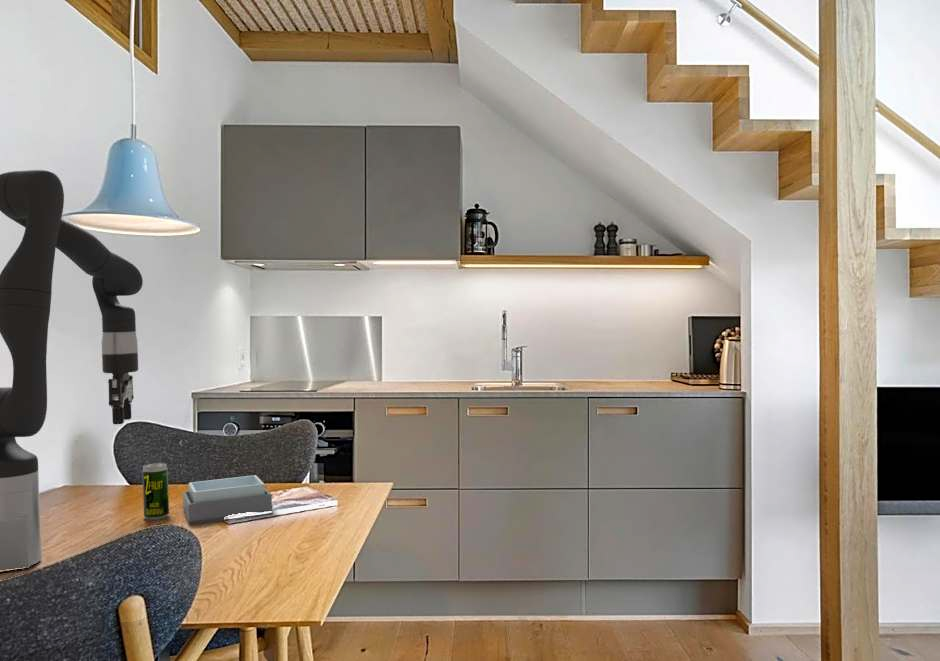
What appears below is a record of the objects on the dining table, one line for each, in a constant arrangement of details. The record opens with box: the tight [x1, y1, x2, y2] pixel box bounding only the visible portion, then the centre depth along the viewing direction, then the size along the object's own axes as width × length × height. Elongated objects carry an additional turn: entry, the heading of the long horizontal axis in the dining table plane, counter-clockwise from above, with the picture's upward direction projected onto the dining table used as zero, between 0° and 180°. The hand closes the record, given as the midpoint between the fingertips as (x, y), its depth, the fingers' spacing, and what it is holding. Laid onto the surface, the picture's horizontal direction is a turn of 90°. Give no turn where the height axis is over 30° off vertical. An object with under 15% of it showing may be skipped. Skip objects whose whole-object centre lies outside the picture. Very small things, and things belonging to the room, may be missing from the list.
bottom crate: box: [182, 487, 273, 526], centre depth 175 cm, size 14×18×4 cm
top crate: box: [188, 474, 266, 504], centre depth 175 cm, size 11×15×6 cm
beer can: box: [141, 462, 170, 521], centre depth 172 cm, size 5×5×12 cm
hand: (122, 421), depth 174 cm, fingers open, 8 cm apart
